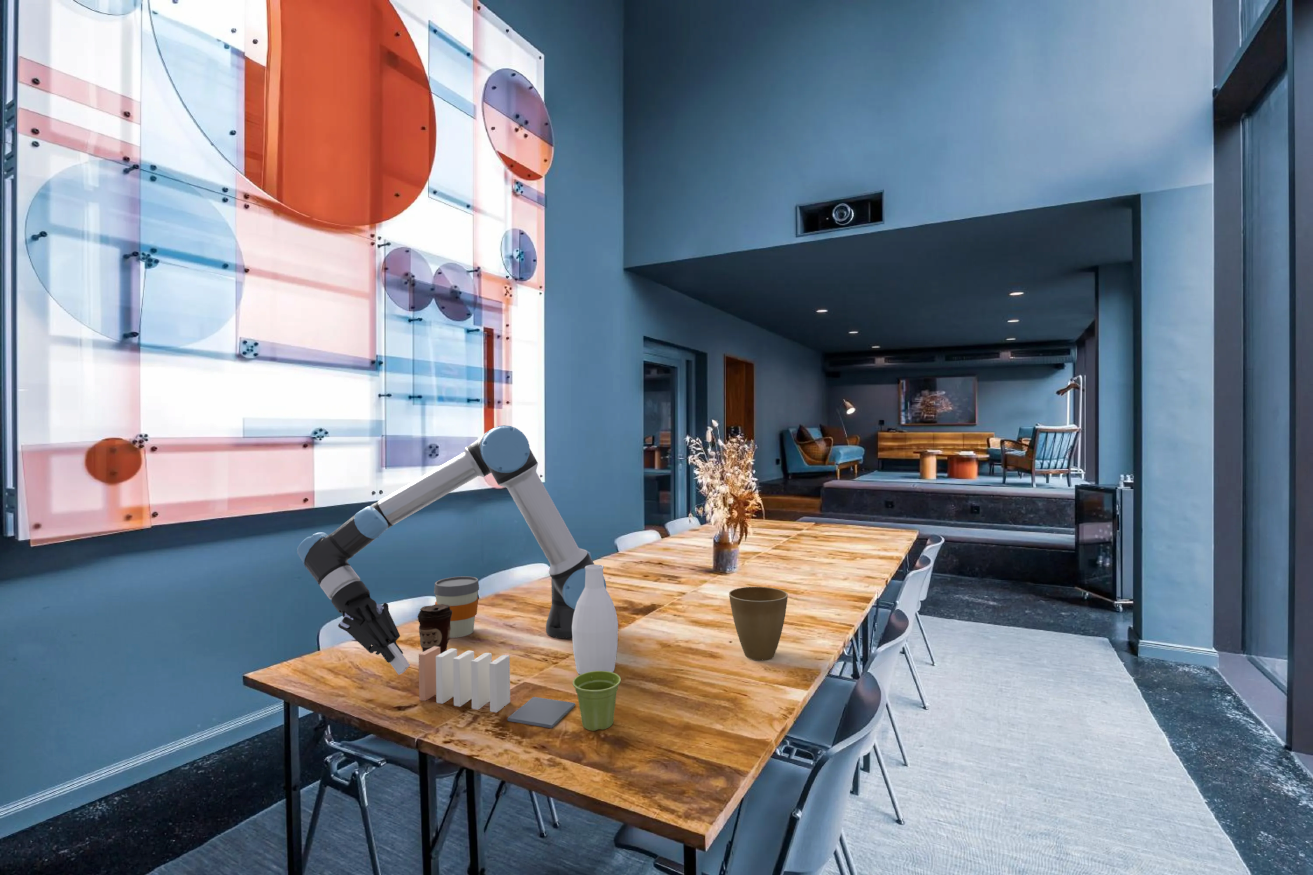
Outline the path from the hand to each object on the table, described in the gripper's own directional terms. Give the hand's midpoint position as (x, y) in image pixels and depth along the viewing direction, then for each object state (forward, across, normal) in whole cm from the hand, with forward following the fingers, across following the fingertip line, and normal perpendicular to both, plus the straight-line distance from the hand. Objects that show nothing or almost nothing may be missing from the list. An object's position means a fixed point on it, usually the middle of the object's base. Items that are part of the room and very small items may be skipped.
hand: (404, 669), depth 132 cm
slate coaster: (+28, 0, +21) cm, 35 cm away
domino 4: (+18, 0, +11) cm, 21 cm away
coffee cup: (-2, -20, -9) cm, 22 cm away
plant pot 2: (+55, -45, +47) cm, 85 cm away
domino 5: (+21, 0, +14) cm, 25 cm away
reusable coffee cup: (-7, -37, -14) cm, 41 cm away
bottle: (+29, -23, +22) cm, 43 cm away
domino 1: (+8, 0, +1) cm, 8 cm away
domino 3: (+15, 0, +8) cm, 17 cm away
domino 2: (+12, 0, +4) cm, 12 cm away
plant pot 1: (+37, 0, +30) cm, 48 cm away
